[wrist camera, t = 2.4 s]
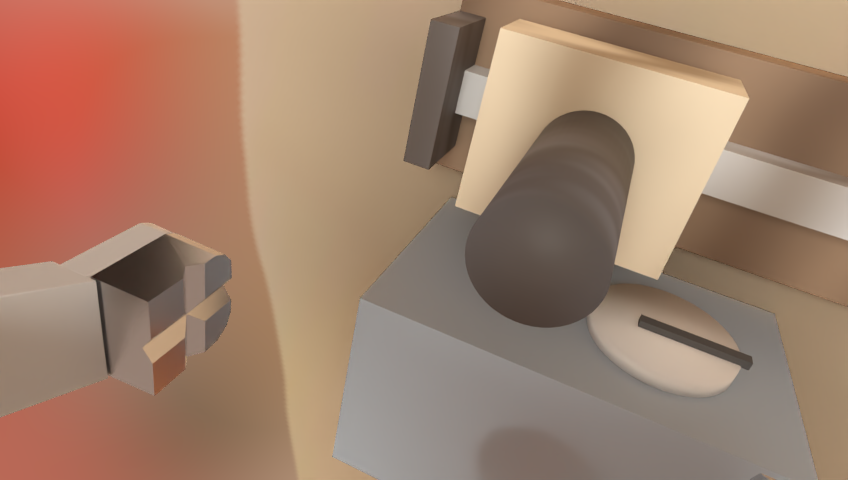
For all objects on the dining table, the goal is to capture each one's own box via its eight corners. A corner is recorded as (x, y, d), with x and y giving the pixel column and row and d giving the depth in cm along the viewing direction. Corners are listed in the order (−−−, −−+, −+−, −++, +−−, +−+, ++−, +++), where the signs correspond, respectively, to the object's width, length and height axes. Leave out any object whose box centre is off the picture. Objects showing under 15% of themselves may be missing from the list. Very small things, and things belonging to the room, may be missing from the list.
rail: (1360, 213, 16) (1571, 296, 12) (1145, 391, 19) (1257, 497, 16) (479, -21, 22) (437, -15, 18) (440, 149, 25) (398, 185, 21)
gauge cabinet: (785, 297, 22) (839, 472, 15) (688, 444, 27) (692, 635, 20) (455, 180, 26) (363, 277, 18) (417, 330, 30) (332, 456, 23)
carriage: (737, 72, 18) (793, 192, 9) (660, 231, 21) (648, 435, 12) (528, 15, 20) (406, 71, 11) (484, 171, 23) (362, 313, 14)
